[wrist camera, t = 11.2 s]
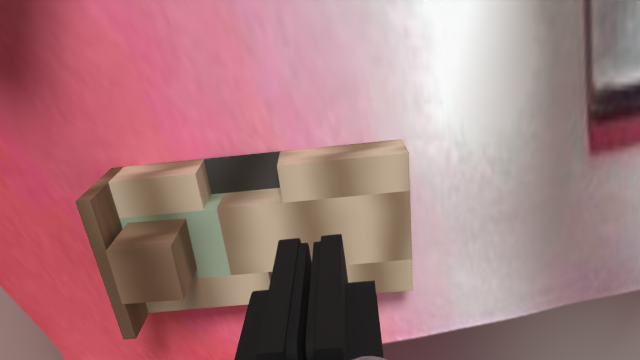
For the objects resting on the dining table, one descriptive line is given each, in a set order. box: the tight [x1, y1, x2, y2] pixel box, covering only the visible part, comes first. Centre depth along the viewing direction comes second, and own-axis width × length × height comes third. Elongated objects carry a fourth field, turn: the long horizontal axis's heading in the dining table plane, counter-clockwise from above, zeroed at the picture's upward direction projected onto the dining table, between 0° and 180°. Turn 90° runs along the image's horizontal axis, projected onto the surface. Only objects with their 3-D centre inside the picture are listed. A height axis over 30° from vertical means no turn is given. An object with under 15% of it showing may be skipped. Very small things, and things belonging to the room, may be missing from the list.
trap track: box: [76, 139, 413, 339], centre depth 36 cm, size 23×12×6 cm, turn 96°
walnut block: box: [106, 218, 197, 304], centre depth 35 cm, size 4×4×4 cm
